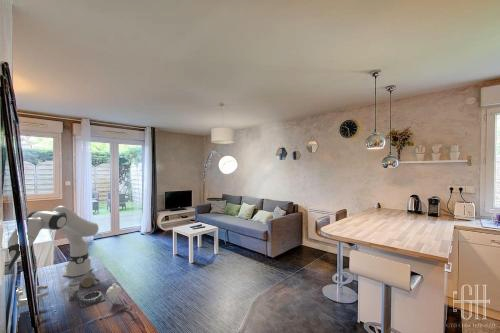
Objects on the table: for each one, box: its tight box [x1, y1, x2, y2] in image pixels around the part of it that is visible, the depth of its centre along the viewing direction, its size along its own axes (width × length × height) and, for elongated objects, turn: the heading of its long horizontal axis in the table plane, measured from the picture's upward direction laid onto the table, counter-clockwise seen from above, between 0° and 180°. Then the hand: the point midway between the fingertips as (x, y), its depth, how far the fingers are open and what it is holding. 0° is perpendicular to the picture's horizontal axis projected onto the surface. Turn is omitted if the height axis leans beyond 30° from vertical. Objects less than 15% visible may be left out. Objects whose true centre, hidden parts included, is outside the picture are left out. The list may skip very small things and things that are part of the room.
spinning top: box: [106, 283, 122, 304], centre depth 138 cm, size 8×8×12 cm
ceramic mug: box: [81, 271, 101, 288], centre depth 158 cm, size 11×8×8 cm
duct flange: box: [77, 290, 106, 309], centre depth 141 cm, size 12×12×3 cm
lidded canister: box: [68, 279, 80, 302], centre depth 142 cm, size 5×5×10 cm
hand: (47, 289), depth 133 cm, fingers open, 8 cm apart
